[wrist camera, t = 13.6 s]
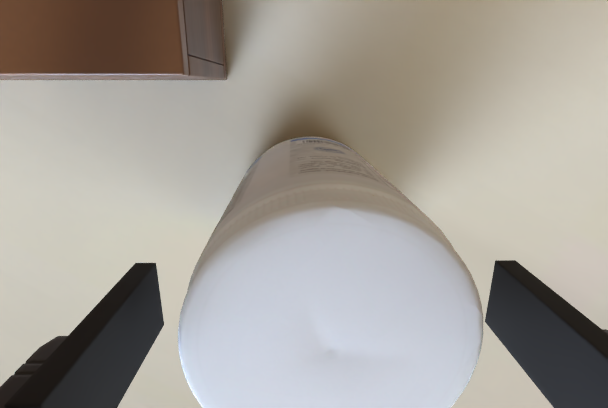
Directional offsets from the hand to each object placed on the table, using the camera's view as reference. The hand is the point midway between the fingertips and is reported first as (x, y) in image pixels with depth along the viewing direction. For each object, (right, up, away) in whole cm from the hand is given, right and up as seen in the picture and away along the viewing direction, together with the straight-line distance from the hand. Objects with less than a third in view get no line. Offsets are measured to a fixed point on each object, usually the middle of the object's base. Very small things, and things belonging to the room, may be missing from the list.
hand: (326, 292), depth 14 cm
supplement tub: (0, +4, +11) cm, 11 cm away
